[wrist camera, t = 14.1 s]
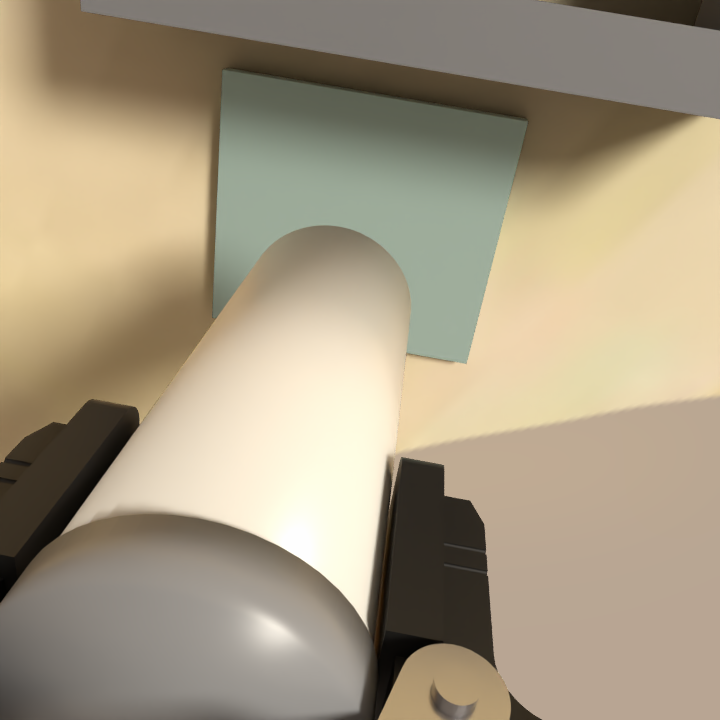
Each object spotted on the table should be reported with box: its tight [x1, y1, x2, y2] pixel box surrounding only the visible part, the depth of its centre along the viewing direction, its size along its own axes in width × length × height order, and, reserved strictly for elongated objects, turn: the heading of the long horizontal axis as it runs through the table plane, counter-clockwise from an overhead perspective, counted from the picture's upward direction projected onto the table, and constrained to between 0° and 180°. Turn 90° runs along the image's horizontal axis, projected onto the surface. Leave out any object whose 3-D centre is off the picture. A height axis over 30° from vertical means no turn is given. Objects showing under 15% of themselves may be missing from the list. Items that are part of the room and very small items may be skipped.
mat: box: [212, 68, 528, 364], centre depth 24 cm, size 10×9×1 cm
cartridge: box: [0, 225, 411, 720], centre depth 13 cm, size 5×5×12 cm
